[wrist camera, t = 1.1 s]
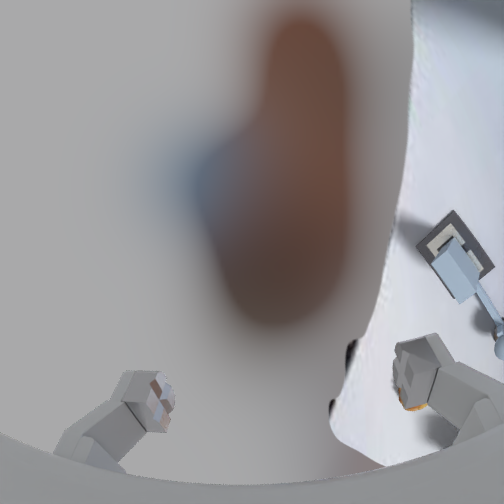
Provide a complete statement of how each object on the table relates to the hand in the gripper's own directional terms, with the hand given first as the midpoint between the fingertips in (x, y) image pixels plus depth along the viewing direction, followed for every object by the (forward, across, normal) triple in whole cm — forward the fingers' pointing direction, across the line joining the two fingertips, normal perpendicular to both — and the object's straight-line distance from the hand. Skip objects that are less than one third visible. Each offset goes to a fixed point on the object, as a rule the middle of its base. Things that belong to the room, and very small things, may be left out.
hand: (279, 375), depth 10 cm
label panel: (+30, -27, +14) cm, 43 cm away
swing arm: (+25, -30, +19) cm, 44 cm away
